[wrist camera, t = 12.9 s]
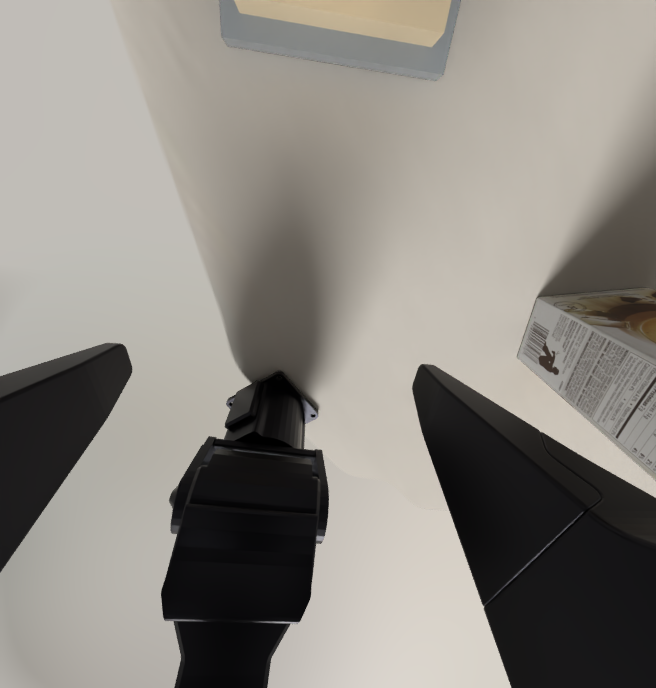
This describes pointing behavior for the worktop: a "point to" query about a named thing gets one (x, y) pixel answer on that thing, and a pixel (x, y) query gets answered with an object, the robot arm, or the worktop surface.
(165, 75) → the worktop surface
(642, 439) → the coffee box
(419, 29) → the dock
